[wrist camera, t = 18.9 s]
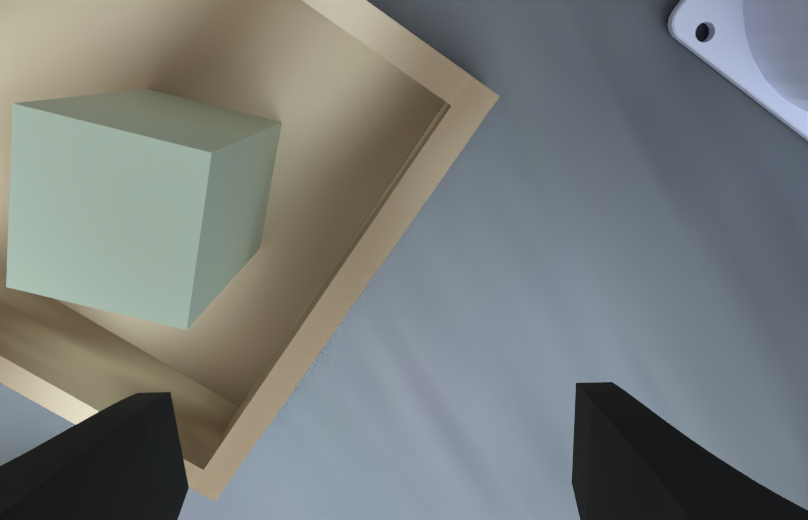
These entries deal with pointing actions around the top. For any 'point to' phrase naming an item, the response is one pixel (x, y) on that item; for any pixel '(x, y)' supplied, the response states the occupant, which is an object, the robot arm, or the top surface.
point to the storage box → (287, 204)
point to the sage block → (136, 201)
